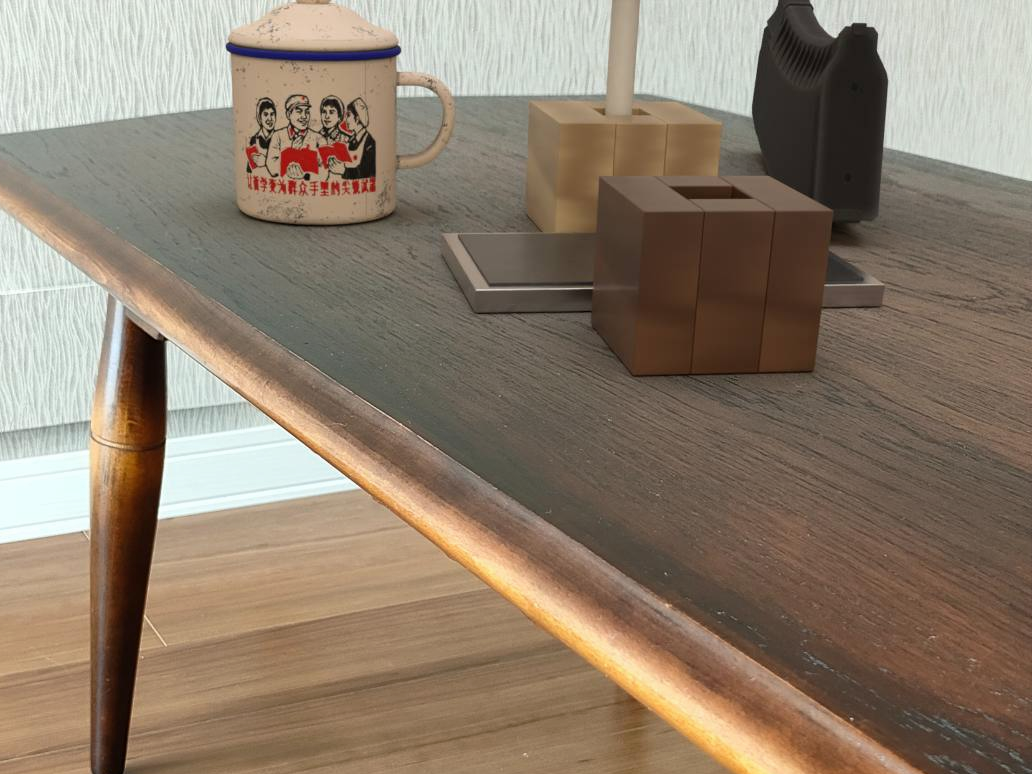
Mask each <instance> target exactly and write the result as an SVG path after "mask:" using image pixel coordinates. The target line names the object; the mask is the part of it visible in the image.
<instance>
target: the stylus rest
mask: <svg viewBox="0 0 1032 774" xmlns="http://www.w3.org/2000/svg"><path fill="white" fill-rule="evenodd" d="M832 219H833V210H831V209H829V208H828V207H826V206H824V205H822V204H820V203H818V202H816V201H814V200H813V199H811V198H809V197H807V196H805V195H803V194H801V193H800V192H798V191H796V190H794V189H792V188H790V187H788V186H787V185H785V184H783V183H781V182H779V181H777V180H775V179H773V178H772V177H770V175H718V176H600V177H599V189H598V207H597V225H596V242H595V260H594V278H593V296H592V311H591V317H590V318H591V319H590V325H591V326H592V327H593V328H594V329H595V331H596V332H597V334H599V336H600V337H601V338H602V340H604V342H605V343H606V344H607V345H608V347H609V348H610V349H611V351H613V353H614V354H615V356H616V357H617V358H618V359H619V360H620V361H621V363H622V364H623V365H624V366H625V367H626V369H627V370H628V371H629V373H631V375H632V376H671V375H672V376H673V375H690V374H691V375H707V374H709V375H710V374H711V375H712V374H716V375H717V374H753V373H754V374H755V373H791V372H792V373H793V372H794V373H795V372H797V373H798V372H814V371H815V367H816V366H815V365H816V359H817V358H816V357H817V350H818V343H819V342H818V341H819V333H820V325H821V316H822V310H823V307H822V301H823V293H824V285H825V277H826V269H827V260H828V252H829V251H830V242H831V236H832V235H831V234H832V228H833V222H832Z"/></svg>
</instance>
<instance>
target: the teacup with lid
mask: <svg viewBox="0 0 1032 774" xmlns="http://www.w3.org/2000/svg"><path fill="white" fill-rule="evenodd" d="M331 1H332V0H295V1H293V2H286V3H282V4H280V5H276V6H275V7H273V8H272V9H270V10H269V11H268V12H267V13H265V14H264V15H263V16H261V17H260V18H259V19H257V20H255V21H252V22H251V23H249V24H244V25H241V26H237V27H236V28H233V29H232V30H231V31H230V33H229V35H228V37H227V41H228V42H227V43H226V44H225V50H226V51H227V52H228V53H230V70H231V91H232V92H231V93H232V117H233V139H234V163H235V187H236V188H235V189H236V202H237V206H238V209H239V210H240V211H241V212H243V213H244V214H245V215H247V216H249V217H252V218H256V219H258V220H263V221H267V222H273V223H279V224H280V223H281V224H289V225H290V224H291V225H302V226H303V225H307V226H329V225H331V226H334V225H350V224H357V223H365V222H370V221H375V220H378V219H381V218H384V217H387V216H389V215H390V214H391V213H392V212H393V211H394V210H395V209H396V206H397V170H410V169H417V168H420V167H423V166H426V165H428V164H430V163H431V162H433V161H434V160H435V159H437V158H438V157H439V156H440V155H441V154H442V152H443V151H444V150H445V148H446V147H447V146H448V143H449V142H450V139H451V137H452V135H453V131H454V128H455V124H456V114H457V112H456V103H455V99H454V97H453V96H454V95H453V94H452V92H451V91H450V89H449V88H448V86H447V85H446V84H445V83H444V82H443V81H442V80H441V79H439V78H437V77H436V76H434V75H432V74H430V73H426V72H421V71H397V67H398V66H397V63H398V59H397V58H398V57H397V56H399V55H401V53H402V48H401V46H400V45H399V44H400V40H399V38H398V36H397V35H396V33H395V32H392V31H391V30H389V29H386V28H382V27H380V26H378V25H375V24H373V23H371V22H370V21H368V20H366V19H365V18H364V17H362V16H361V15H360V14H358V13H357V11H355V10H353V9H352V8H350V7H348V6H346V5H344V4H339V3H335V2H331ZM398 87H421V88H425V89H427V90H429V91H431V92H433V93H434V94H435V95H436V96H437V97H438V98H439V100H440V102H441V105H442V110H443V111H442V112H443V113H442V121H441V125H440V128H439V131H438V132H437V134H436V136H435V138H434V139H433V141H432V142H431V143H429V145H428V146H427V147H425V148H424V149H422V150H420V151H417V152H414V153H407V154H397V145H398V144H397V139H398V138H397V136H398V135H397V130H398V129H397V126H398V125H397V117H398V116H397V115H398V114H397V107H398V106H397V104H398V103H397V102H398V101H397V97H398V96H397V93H398V91H397V88H398Z"/></svg>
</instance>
